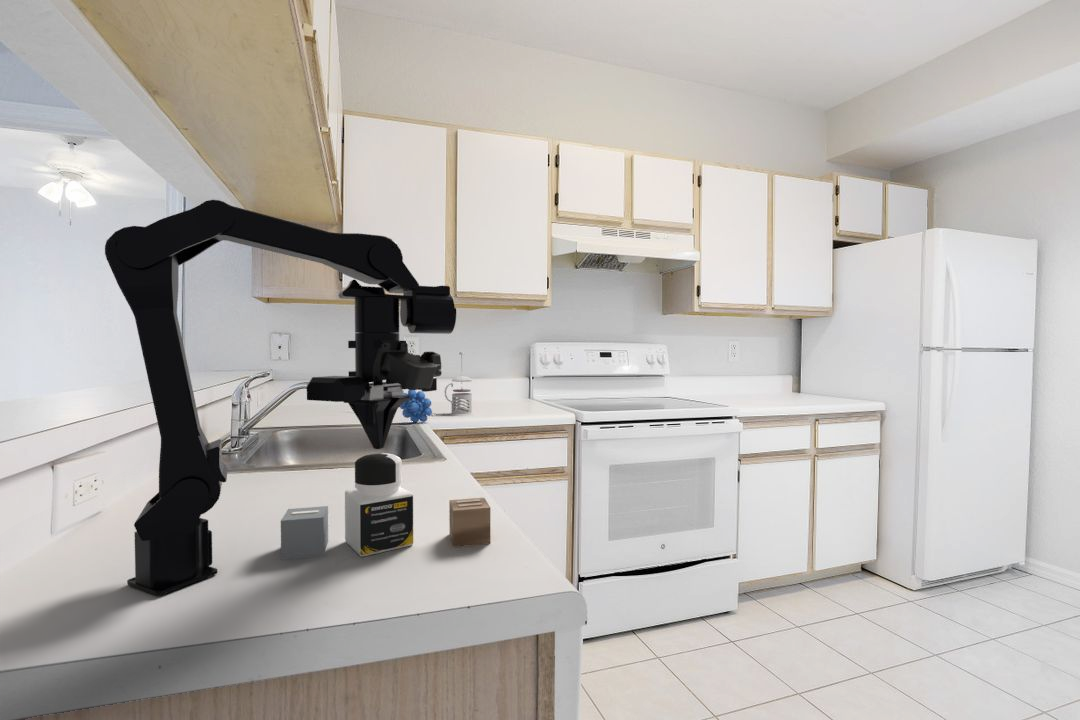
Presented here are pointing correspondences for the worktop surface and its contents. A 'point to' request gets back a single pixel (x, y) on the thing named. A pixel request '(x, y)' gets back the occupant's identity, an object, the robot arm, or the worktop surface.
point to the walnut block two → (469, 522)
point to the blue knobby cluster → (416, 406)
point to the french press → (461, 397)
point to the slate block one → (304, 532)
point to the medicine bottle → (378, 506)
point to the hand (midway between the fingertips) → (378, 448)
